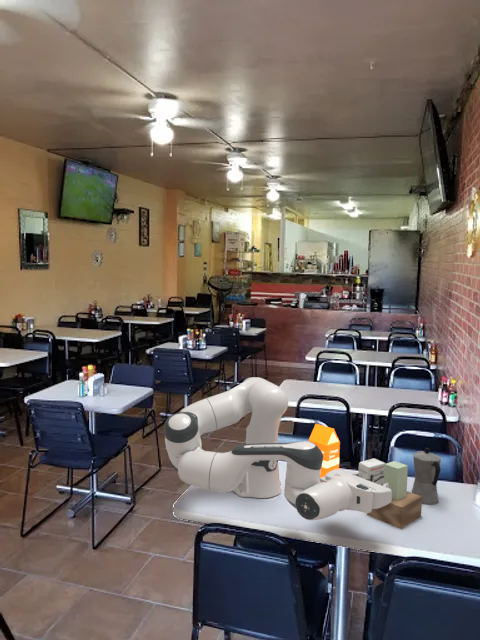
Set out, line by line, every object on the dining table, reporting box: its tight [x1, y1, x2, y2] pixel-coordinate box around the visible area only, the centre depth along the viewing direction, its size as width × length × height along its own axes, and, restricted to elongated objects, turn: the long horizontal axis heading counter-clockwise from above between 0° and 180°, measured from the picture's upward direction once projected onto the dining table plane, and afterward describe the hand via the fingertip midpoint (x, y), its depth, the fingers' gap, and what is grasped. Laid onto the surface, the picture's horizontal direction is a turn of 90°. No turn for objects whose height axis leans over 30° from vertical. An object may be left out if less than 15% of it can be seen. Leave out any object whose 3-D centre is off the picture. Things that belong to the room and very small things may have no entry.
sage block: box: [384, 460, 409, 500], centre depth 160 cm, size 5×5×10 cm
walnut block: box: [366, 491, 423, 530], centre depth 161 cm, size 12×12×7 cm
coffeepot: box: [411, 447, 442, 506], centre depth 172 cm, size 15×9×18 cm, turn 6°
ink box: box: [357, 458, 386, 485], centre depth 176 cm, size 8×5×12 cm, turn 123°
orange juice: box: [308, 423, 341, 478], centre depth 189 cm, size 8×9×20 cm
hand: (373, 480), depth 152 cm, fingers open, 8 cm apart
